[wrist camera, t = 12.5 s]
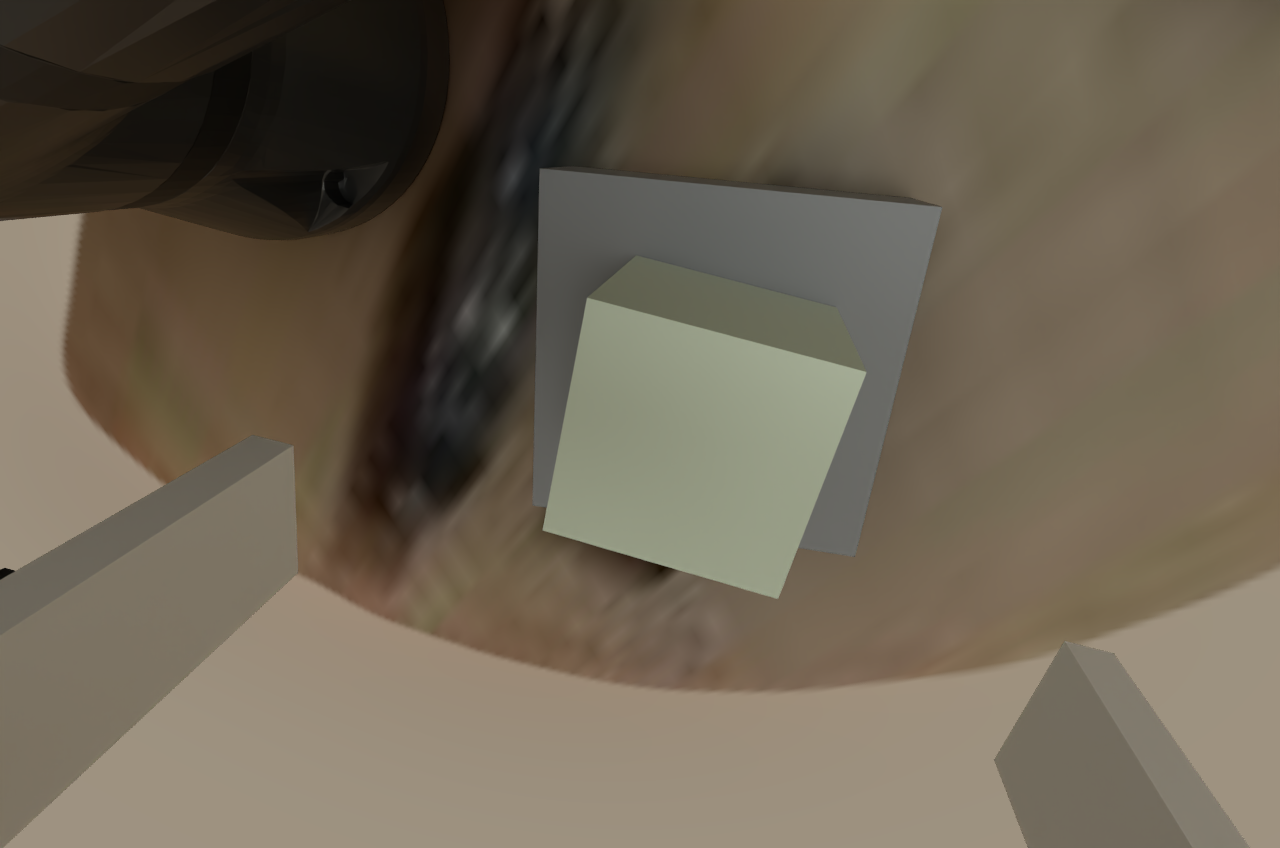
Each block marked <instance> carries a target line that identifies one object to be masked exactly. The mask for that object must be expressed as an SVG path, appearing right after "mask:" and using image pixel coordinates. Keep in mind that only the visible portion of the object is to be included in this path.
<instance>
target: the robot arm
mask: <svg viewBox="0 0 1280 848" xmlns="http://www.w3.org/2000/svg"><path fill="white" fill-rule="evenodd" d="M448 78H449V40H448V29H447V21H446V15H445V8H444V3H443V0H0V221H4V220H15V219H25V218H36V217H46V216H56V215H68V214H79V213H89V212H99V211H104V210H115V209H127V208H141V209H145V210H148V211H152V212H155V213H159V214H163V215H166V216H170V217H174V218H177V219H181V220H184V221H188V222H192V223H195V224H199V225H202V226H206V227H210V228H213V229H217V230H220V231H224V232H228V233H231V234H235V235H239V236H244V237H249V238H256V239H266V240H294V239H302V238H308V237H314V236H319V235H324V234H330V233H335V232H339V231H343V230H346V229H349V228H352V227H355V226H357V225H360V224H362V223H364V222H366V221H368V220H370V219H371V218H373V217H375V216H377V215H378V214H379V213H381V212H382V211H384V210H385V209H386V208H388V207H389V206H390V205H391V204H392V203H394V202H395V201H396V200H397V199H398V198H399V197H400V196H401V195H402V194H403V193H404V192H405V190H406V189H407V188H408V187H409V186H410V184H411V183H412V182H413V180H414V179H415V177H416V176H417V175H418V173H419V172H420V170H421V168H422V166H423V165H424V163H425V161H426V159H427V157H428V155H429V153H430V151H431V149H432V147H433V144H434V142H435V139H436V136H437V134H438V130H439V127H440V124H441V120H442V116H443V112H444V108H445V102H446V96H447V88H448ZM297 573H298V556H297V529H296V502H295V474H294V447H293V445H290V444H286V443H282V442H278V441H274V440H271V439H267V438H263V437H259V436H255V435H251V436H250V437H248V438H246V439H244V440H243V441H241V442H239V443H238V444H236V445H234V446H232V447H231V448H229V449H227V450H225V451H224V452H222V453H220V454H218V455H217V456H215V457H213V458H211V459H210V460H208V461H206V462H204V463H203V464H201V465H199V466H198V467H196V468H194V469H192V470H191V471H189V472H187V473H185V474H184V475H182V476H180V477H178V478H177V479H175V480H173V481H171V482H170V483H168V484H166V485H164V486H163V487H161V488H159V489H158V490H156V491H154V492H152V493H151V494H149V495H147V496H145V497H144V498H142V499H140V500H138V501H137V502H135V503H133V504H131V505H130V506H128V507H126V508H125V509H123V510H121V511H119V512H118V513H116V514H114V515H112V516H111V517H109V518H107V519H105V520H104V521H102V522H100V523H98V524H97V525H95V526H93V527H91V528H90V529H88V530H86V531H85V532H83V533H81V534H79V535H78V536H76V537H74V538H72V539H71V540H69V541H67V542H65V543H64V544H62V545H60V546H59V547H57V548H55V549H53V550H51V551H50V552H48V553H46V554H44V555H43V556H41V557H39V558H38V559H36V560H34V561H32V562H31V563H29V564H27V565H25V566H24V567H22V568H20V569H18V570H17V571H14V570H10V569H7V568H4V569H1V570H0V848H3V847H4V846H5V845H6V844H7V843H9V842H10V841H11V840H12V839H13V838H14V837H15V836H16V835H17V834H18V833H19V832H20V831H21V830H23V829H24V828H25V827H26V826H27V825H28V824H29V823H30V822H31V821H32V820H33V819H34V818H35V817H37V816H38V815H39V814H40V813H41V812H42V811H43V810H44V809H45V808H46V807H47V806H48V805H49V804H50V803H52V802H53V801H54V800H55V799H56V798H57V797H58V796H59V795H60V794H61V793H62V792H63V791H64V790H66V789H67V787H69V786H70V785H71V784H72V783H73V782H74V781H75V780H76V779H77V778H78V777H79V776H81V774H82V773H84V772H85V771H86V770H87V769H88V768H89V767H90V766H91V765H92V764H93V763H94V762H96V760H98V759H99V758H100V757H101V756H102V755H103V754H104V753H105V752H106V751H107V750H108V749H109V748H111V747H112V746H113V745H114V744H115V743H116V742H117V741H118V740H119V739H120V738H121V737H122V736H123V735H124V734H126V733H127V732H128V731H129V730H130V729H131V728H132V727H133V726H134V725H135V724H136V723H137V722H138V721H139V720H141V719H142V718H143V717H144V716H145V715H146V714H147V713H148V712H149V711H150V710H151V709H152V708H153V707H155V706H156V705H157V704H158V703H159V702H160V701H161V700H162V699H163V698H164V697H165V696H166V695H167V694H168V693H170V691H172V689H174V688H175V687H176V686H177V685H178V684H179V683H180V682H181V681H182V680H184V678H186V677H187V676H188V675H189V674H190V673H191V672H192V671H193V670H194V669H195V668H196V667H197V666H199V665H200V664H201V663H202V662H203V661H204V660H205V659H206V658H207V657H208V656H209V655H210V654H211V653H212V652H214V651H215V650H216V649H217V648H218V647H219V646H220V645H221V644H222V643H223V642H224V641H225V640H226V639H228V638H229V637H230V636H231V635H232V634H233V633H234V632H235V631H236V630H237V629H238V628H239V627H240V626H241V625H243V624H244V623H245V622H246V621H247V620H248V619H249V618H250V617H251V616H252V615H253V614H254V613H255V612H257V611H258V610H259V609H260V607H262V606H263V605H264V604H265V603H266V602H267V601H268V600H269V599H270V598H272V596H274V595H275V594H276V593H277V592H278V591H279V590H280V589H281V588H282V587H283V586H284V585H285V584H287V583H288V582H289V581H290V580H291V579H292V578H293V577H294V576H295V575H296V574H297ZM994 761H995V763H996V766H997V768H998V771H999V774H1000V776H1001V779H1002V782H1003V784H1004V787H1005V789H1006V792H1007V795H1008V797H1009V799H1010V802H1011V805H1012V807H1013V810H1014V813H1015V815H1016V818H1017V821H1018V823H1019V826H1020V828H1021V831H1022V834H1023V836H1024V839H1025V841H1026V844H1027V847H1028V848H1250V847H1249V846H1248V844H1247V843H1246V841H1245V840H1244V838H1243V837H1242V836H1241V834H1240V833H1239V831H1238V830H1237V828H1236V827H1235V826H1234V824H1233V823H1232V821H1231V820H1230V818H1229V817H1228V816H1227V814H1226V813H1225V812H1224V810H1223V808H1222V807H1221V806H1220V804H1219V803H1218V801H1217V800H1216V798H1215V797H1214V796H1213V794H1212V793H1211V791H1210V790H1209V788H1208V787H1207V786H1206V784H1205V783H1204V781H1203V780H1202V778H1201V777H1200V776H1199V774H1198V773H1197V771H1196V770H1195V768H1194V767H1193V766H1192V764H1191V763H1190V761H1189V760H1188V758H1187V757H1186V756H1185V754H1184V753H1183V751H1182V750H1181V748H1180V747H1179V746H1178V744H1177V743H1176V741H1175V740H1174V738H1173V737H1172V736H1171V734H1170V733H1169V731H1168V730H1167V729H1166V727H1165V726H1164V724H1163V723H1162V721H1161V720H1160V719H1159V717H1158V716H1157V714H1156V713H1155V711H1154V710H1153V708H1152V707H1151V706H1150V704H1149V703H1148V701H1147V700H1146V698H1145V697H1144V696H1143V694H1142V693H1141V691H1140V690H1139V688H1138V687H1137V686H1136V684H1135V683H1134V681H1133V680H1132V678H1131V677H1130V676H1129V674H1128V673H1127V671H1126V670H1125V669H1124V667H1123V666H1122V664H1121V663H1120V661H1119V660H1118V658H1117V657H1116V656H1115V654H1114V653H1110V652H1106V651H1102V650H1098V649H1094V648H1090V647H1086V646H1083V645H1079V644H1075V643H1071V642H1067V641H1064V643H1063V644H1062V646H1061V648H1060V650H1059V651H1058V653H1057V655H1056V656H1055V658H1054V660H1053V661H1052V663H1051V665H1050V666H1049V668H1048V670H1047V672H1046V673H1045V675H1044V677H1043V678H1042V680H1041V682H1040V683H1039V685H1038V687H1037V688H1036V690H1035V692H1034V693H1033V695H1032V697H1031V699H1030V700H1029V702H1028V704H1027V705H1026V707H1025V709H1024V710H1023V712H1022V714H1021V715H1020V717H1019V719H1018V720H1017V722H1016V724H1015V726H1014V727H1013V729H1012V731H1011V732H1010V734H1009V736H1008V737H1007V739H1006V741H1005V742H1004V744H1003V746H1002V747H1001V749H1000V751H999V753H998V754H997V756H996V758H995V759H994Z"/></svg>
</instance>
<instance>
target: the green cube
mask: <svg viewBox="0 0 1280 848" xmlns="http://www.w3.org/2000/svg"><path fill="white" fill-rule="evenodd" d="M866 373H867V372H866V369H865V367H864V365H863V363H862V361H861V359H860V356H859V354H858V352H857V350H856V348H855V346H854V344H853V341H852V339H851V337H850V335H849V333H848V331H847V329H846V326H845V324H844V322H843V320H842V318H841V316H840V313H839V311H838V309H837V307H833V306H829V305H825V304H821V303H817V302H814V301H810V300H806V299H802V298H798V297H794V296H791V295H787V294H783V293H779V292H775V291H771V290H767V289H764V288H760V287H756V286H752V285H748V284H744V283H741V282H737V281H733V280H729V279H725V278H721V277H718V276H714V275H710V274H706V273H702V272H698V271H694V270H691V269H687V268H683V267H679V266H675V265H671V264H668V263H664V262H660V261H656V260H652V259H648V258H645V257H641V256H637V255H636V256H635V257H634V258H633V259H632V260H630V261H629V262H628V263H627V264H626V265H625V266H623V267H622V268H621V269H620V270H619V271H618V272H616V273H615V274H614V275H613V276H612V277H611V278H609V279H608V280H607V281H606V282H605V283H604V284H603V285H601V286H600V287H599V288H598V289H597V290H596V291H594V292H593V293H592V294H591V295H590V296H589V297H587V301H586V306H585V311H584V317H583V322H582V327H581V332H580V338H579V343H578V348H577V353H576V359H575V364H574V369H573V374H572V379H571V385H570V390H569V395H568V400H567V406H566V411H565V416H564V421H563V426H562V432H561V437H560V442H559V447H558V453H557V458H556V463H555V468H554V473H553V479H552V484H551V489H550V494H549V500H548V505H547V510H546V515H545V520H544V526H543V531H547V532H550V533H554V534H557V535H560V536H564V537H567V538H571V539H574V540H578V541H581V542H584V543H588V544H591V545H595V546H598V547H602V548H605V549H608V550H612V551H615V552H619V553H622V554H626V555H629V556H632V557H636V558H639V559H643V560H646V561H650V562H653V563H656V564H660V565H663V566H667V567H670V568H674V569H677V570H680V571H684V572H687V573H691V574H694V575H697V576H701V577H704V578H708V579H711V580H715V581H718V582H721V583H725V584H728V585H732V586H735V587H739V588H742V589H745V590H749V591H752V592H756V593H759V594H763V595H766V596H769V597H773V598H776V599H778V598H779V595H780V593H781V590H782V587H783V585H784V582H785V580H786V577H787V575H788V572H789V570H790V567H791V564H792V562H793V559H794V557H795V554H796V552H797V549H798V547H799V544H800V541H801V539H802V536H803V534H804V531H805V529H806V526H807V524H808V521H809V518H810V516H811V513H812V511H813V508H814V506H815V503H816V501H817V498H818V495H819V493H820V490H821V488H822V485H823V483H824V480H825V478H826V475H827V472H828V470H829V467H830V465H831V462H832V460H833V457H834V455H835V452H836V449H837V447H838V444H839V442H840V439H841V437H842V434H843V432H844V429H845V426H846V424H847V421H848V419H849V416H850V414H851V411H852V409H853V406H854V403H855V401H856V398H857V396H858V393H859V391H860V388H861V386H862V383H863V380H864V378H865V375H866Z"/></svg>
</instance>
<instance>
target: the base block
mask: <svg viewBox="0 0 1280 848" xmlns="http://www.w3.org/2000/svg"><path fill="white" fill-rule="evenodd" d="M941 210H942V207H940V206H937V205H934V204H930V203H927V202H923V201H920V200H916V199H913V198H906V197H895V196H884V195H874V194H863V193H853V192H842V191H832V190H821V189H811V188H800V187H790V186H779V185H769V184H758V183H747V182H737V181H726V180H716V179H705V178H695V177H684V176H674V175H663V174H653V173H642V172H632V171H621V170H610V169H600V168H589V167H579V166H568V167H553V168H540V175H539V223H538V270H537V318H536V365H535V413H534V461H533V505H534V506H540V507H546V508H547V505H548V500H549V494H550V489H551V484H552V479H553V473H554V468H555V463H556V458H557V453H558V447H559V442H560V437H561V432H562V426H563V421H564V416H565V411H566V406H567V400H568V395H569V390H570V385H571V379H572V374H573V369H574V364H575V359H576V353H577V348H578V343H579V338H580V332H581V327H582V322H583V317H584V311H585V306H586V301H587V297H589V296H590V295H591V294H592V293H593V292H594V291H596V290H597V289H598V288H599V287H600V286H601V285H603V284H604V283H605V282H606V281H607V280H608V279H609V278H611V277H612V276H613V275H614V274H615V273H616V272H618V271H619V270H620V269H621V268H622V267H623V266H625V265H626V264H627V263H628V262H629V261H630V260H632V259H633V258H634V257H635V256H636V255H637V256H641V257H645V258H648V259H652V260H656V261H660V262H664V263H668V264H671V265H675V266H679V267H683V268H687V269H691V270H694V271H698V272H702V273H706V274H710V275H714V276H718V277H721V278H725V279H729V280H733V281H737V282H741V283H744V284H748V285H752V286H756V287H760V288H764V289H767V290H771V291H775V292H779V293H783V294H787V295H791V296H794V297H798V298H802V299H806V300H810V301H814V302H817V303H821V304H825V305H829V306H833V307H837V309H838V311H839V313H840V316H841V318H842V320H843V322H844V324H845V326H846V329H847V331H848V333H849V335H850V337H851V339H852V341H853V344H854V346H855V348H856V350H857V352H858V354H859V356H860V359H861V361H862V363H863V365H864V367H865V369H866V372H867V373H866V375H865V378H864V380H863V383H862V386H861V388H860V391H859V393H858V396H857V398H856V401H855V403H854V406H853V409H852V411H851V414H850V416H849V419H848V421H847V424H846V426H845V429H844V432H843V434H842V437H841V439H840V442H839V444H838V447H837V449H836V452H835V455H834V457H833V460H832V462H831V465H830V467H829V470H828V472H827V475H826V478H825V480H824V483H823V485H822V488H821V490H820V493H819V495H818V498H817V501H816V503H815V506H814V508H813V511H812V513H811V516H810V518H809V521H808V524H807V526H806V529H805V531H804V534H803V536H802V539H801V541H800V544H799V547H798V548H803V549H809V550H815V551H821V552H828V553H834V554H840V555H846V556H853V557H855V554H856V550H857V546H858V542H859V538H860V534H861V530H862V526H863V522H864V518H865V514H866V510H867V506H868V502H869V498H870V494H871V490H872V486H873V482H874V478H875V474H876V470H877V466H878V462H879V458H880V454H881V450H882V446H883V442H884V438H885V434H886V430H887V426H888V422H889V418H890V414H891V410H892V406H893V402H894V398H895V394H896V390H897V386H898V382H899V378H900V374H901V370H902V366H903V362H904V358H905V354H906V350H907V346H908V342H909V338H910V334H911V330H912V326H913V322H914V318H915V314H916V310H917V306H918V302H919V298H920V294H921V290H922V286H923V282H924V278H925V274H926V270H927V266H928V262H929V258H930V254H931V250H932V246H933V242H934V238H935V234H936V230H937V226H938V222H939V218H940V214H941Z"/></svg>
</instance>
